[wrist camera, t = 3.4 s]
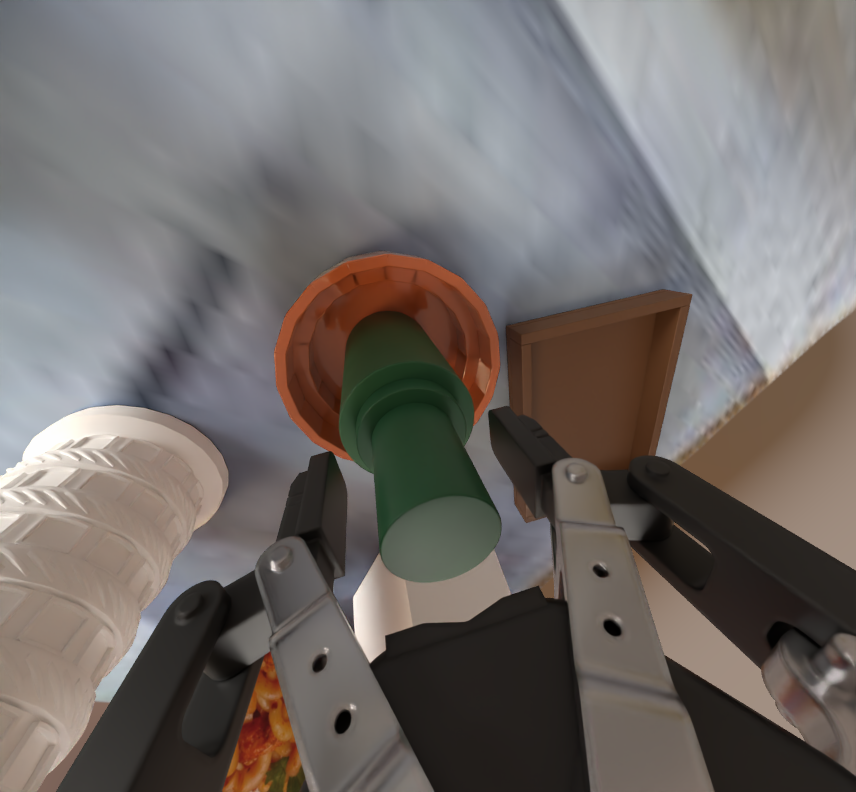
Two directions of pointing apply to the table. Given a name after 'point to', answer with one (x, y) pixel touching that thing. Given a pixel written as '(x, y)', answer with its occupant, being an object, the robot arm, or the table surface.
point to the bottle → (415, 450)
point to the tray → (598, 376)
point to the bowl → (364, 295)
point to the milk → (421, 601)
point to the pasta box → (266, 742)
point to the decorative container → (87, 565)
